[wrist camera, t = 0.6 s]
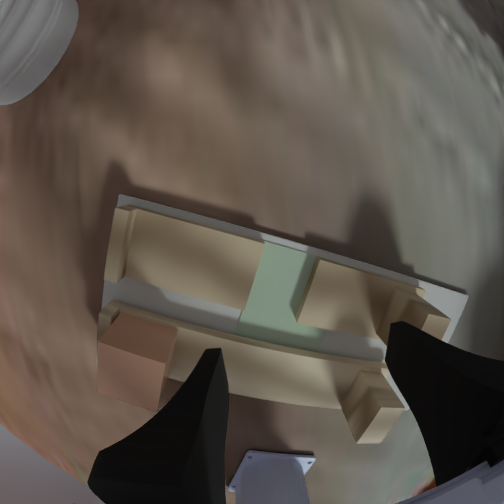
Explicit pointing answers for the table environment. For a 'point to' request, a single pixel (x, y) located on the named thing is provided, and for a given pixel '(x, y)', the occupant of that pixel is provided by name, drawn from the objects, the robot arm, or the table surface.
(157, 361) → the cube
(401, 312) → the broken strip
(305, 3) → the table surface
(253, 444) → the table surface
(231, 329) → the mat
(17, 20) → the honey pot
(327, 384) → the beige wooden beam
